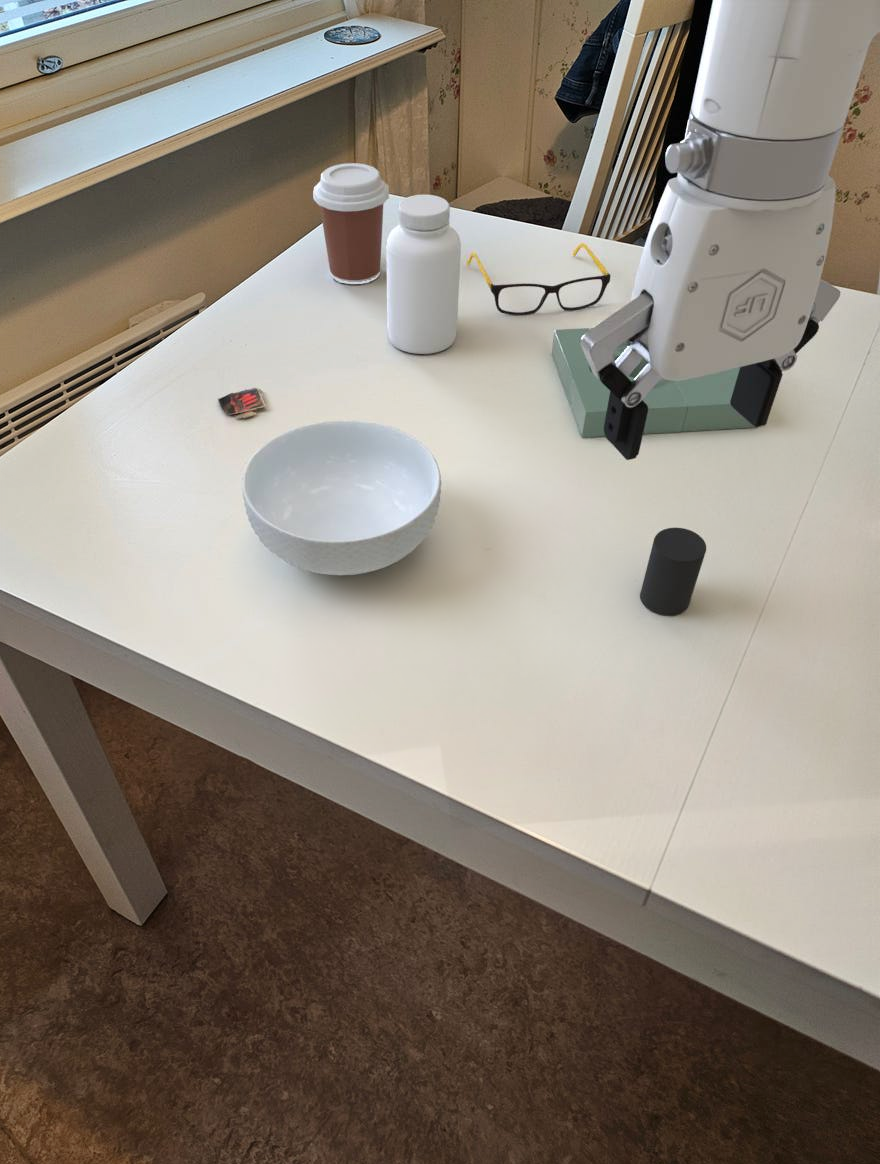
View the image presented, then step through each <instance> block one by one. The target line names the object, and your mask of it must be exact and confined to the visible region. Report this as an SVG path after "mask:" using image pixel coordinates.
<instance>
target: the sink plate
mask: <svg viewBox="0 0 880 1164" xmlns="http://www.w3.org/2000/svg"><path fill="white" fill-rule="evenodd" d="M593 328H594V327H584V328H583V327H582V328H565V329H564V328H563V329H562V328H561V329H554V331H553V337H552V339H553V340H552V347H551V357H552V360H553V362H554V365H555V368H556V370H557V373H558V376H559V379H560V382H561V385H562V388H563V390H564V393H565V396H566V398H567V401H568V405H569V406H570V409H571V413H572V415H573V417H574V420H575V423H576V426H577V429H578V432H579V434H580V436H581V439H583V438H601V437H606V436H605V434H604V423H605V417H606V412H607V406H608V401H609V395H610V390H609V389H608V388H607V387H606V386H605V385H604V384H603V383H602V382H601V381H600V380H599V379H598V378H597V377H596V376H595V375H594V374H593V373H592V372H591V371H590V369H589V363H588V362H587V359H586V357H585V354H584V352H583V349H582V347H581V343H580V341H581V338H582V337H583V335H584V334H585V333H587V332H588V331H590V330H591V329H593ZM627 347H628V345H627V344H626V342H624V343H623V344H621V345H620V346H619V347H617V348H616V350H615V352H614V359H615V361H616V360H617V359H618V358H619V357H620V355H621V354H622V353H623V352H624V351H625V349H626V348H627ZM647 364H648V363H647V362H646V361H645V360H644V359H643V360H642V361H641V362H640V363H639V364H638V366H637V367H636V368H635V369H634V370H633V371H632V373H631V374H630V375H629V376H628V378H629V379H630V380H631V381H633V380H634V379H635V378H636V377H637V375H638V374H639V373H640V372H641V371H642V370H643V368H644V367H645V366H646V365H647ZM739 370H740V367H739V368H734V369H730V370H726V371H722V372H717V373H713V374H709V375H704V376H700V377H695V378H691V379H686V380H680V381H670V380H666V379H664V378H661V379H660V380H659V382H658V383H657V384H656V385H655V386H654V387H653V388H652V389H651V391H650V392H649V393H648V394H647V395H646V396H645V397H644V399H643V401H644V402H645V403H646V404H647V406H648V413H647V418H646V422H645V427H644V432H643V435H652V434H671V433H682V432H698V431H699V432H702V431H719V430H735V429H753V428H756V427H755V426H753V425H752V424H751V423H750V422H749V421H747V420H746V419H745V418H744V417H743V416H742V415H741V414H740V413H738V412H737V411H736V410H735V409H734V408H733V407H732V406H731V404H730V400H731V397H732V393H733V390H734V387H735V383H736V380H737V376H738V373H739Z"/></svg>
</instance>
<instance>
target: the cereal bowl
mask: <svg viewBox="0 0 880 1164" xmlns="http://www.w3.org/2000/svg"><path fill="white" fill-rule="evenodd" d="M241 483H242V485H241V487H242V499H243V504H244V505H243V506H244V508H245V514H246V515H247V519H248V522H249V523H250V526H251V529H252V530H253V531H254V534H255V536H257V538H258V539H259V541H260V542H261V543H262V544H263V546H264V547H265V548H267V550H269V552H271V553H272V554H274V555H275V556H276V557H277V558H278V559H281V560H283V562H285V563H287V564H289V565H291V566H293V567H296V568H298V569H301V570H304V571H307V572H312V573H315V574H322V575H327V576H354V575H359V574H360V575H362V574H366V573H371V572H374V571H377V570H381V569H384V568H386V567H388V566H391V565H393V564H395V563H397V562H399V561H400V560H402V559H404V558H405V557H406V556H407V555H410V554H411V553H412V552H413V551H414V550H415V549H417V548H418V547H419V545H420V544H422V543H423V541H424V540H425V538H427V536H428V535H429V532H430V531H431V529H433V525H434V523H435V521H436V518H437V515H438V510H439V508H440V502H441V493H442V475H441V471H440V467H439V463H438V462H437V460H436V458H435V457H434V455H433V453H432V452H431V451H430V450H429V449H428V447H426V446H425V444H423V443H422V442H421V441H419V440H418V439H417V438H416V437H414V436H412V435H410V434H409V433H407V432H405V431H403V430H401V429H398V428H396V427H392V426H389V425H385V424H382V423H377V422H372V421H365V420H351V419H350V420H349V419H343V420H342V419H340V420H339V419H338V420H327V421H318V422H313V423H309V424H305V425H301V426H298V427H294V428H291V429H289V430H287V431H285V432H283V433H281V434H278V435H276V436H275V437H273V438H272V439H270V440H268V441H267V442H265V444H263V445H262V446H261V447H260V448H258V449H257V450H256V452H254V454H253V455H252V456H251V457H250V459H249V461H248V462H247V463H246V466H245V469H244V472H243V476H242V481H241Z"/></svg>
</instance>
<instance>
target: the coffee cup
mask: <svg viewBox="0 0 880 1164" xmlns="http://www.w3.org/2000/svg"><path fill="white" fill-rule="evenodd" d="M389 187H390V186H389V184H388V183H386V182H385V181H384V179H382V178H381V173H380V171H378V169H377V168H376V167H374V166H371V165H368V164H365V163H357V162H353V163H352V162H347V163H341V164H335V165H333V166H330V167H328V168H326V169H325V170H323V171H322V173H321V174H320V181H318V183H317V184H316V185H314V187H313V192H312V195H313V200H314V202H315V203H316V204H317V205H318V206H319V209H320V216H321V221H322V228H323V235H324V240H325V247H326V253H327V258H328V259H327V260H328V266H329V273H330V272H331V274H332V275H333V277H335V278H338V279H340V280H342V281H347V282H362V281H367V280H371V279H372V278H375V277H376V276H377V275H378V274H379V272H380V273H381V265H382V264H381V263H382V241H383V223H384V222H383V221H384V220H383V219H384V204H385V203H386V201H388V200H389V198H390V189H389Z"/></svg>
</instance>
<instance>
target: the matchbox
mask: <svg viewBox="0 0 880 1164" xmlns="http://www.w3.org/2000/svg"><path fill="white" fill-rule="evenodd" d="M263 396H264V391H263V390H261V388H258V387H252V388H249V389H247V388H246V389H245V390H241V391H237V392H231V393H228V394H226V395H224V396H221V397H219V398H217V401H218V404H219V407H220V409H221V410H222V411H223V412H224V413H225V414H226V415H227V416H230V415H234V417H235V418H237V419H238V420H240V419H243V420H245V419H247V418H250V417H253V416H256V415H257V414H258V411H256V410H258V409H263V408H265V407H266V403H265V399H264V398H263ZM236 414H238V415H236Z"/></svg>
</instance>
